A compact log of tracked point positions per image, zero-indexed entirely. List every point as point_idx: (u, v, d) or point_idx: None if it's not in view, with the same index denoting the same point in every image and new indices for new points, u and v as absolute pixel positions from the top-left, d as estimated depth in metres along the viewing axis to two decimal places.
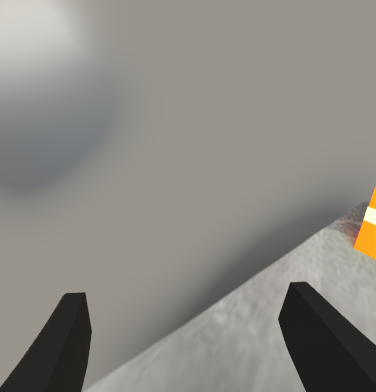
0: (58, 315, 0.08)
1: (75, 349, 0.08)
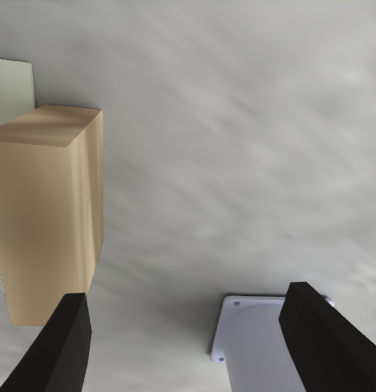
0: (58, 315, 0.08)
1: (75, 349, 0.08)
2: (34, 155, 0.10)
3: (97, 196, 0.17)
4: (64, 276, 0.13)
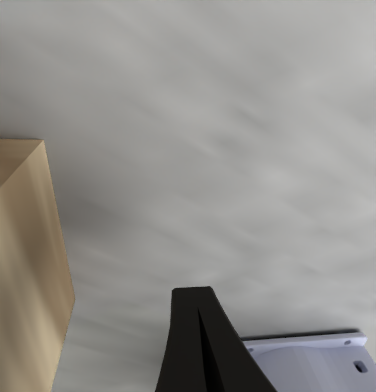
0: (180, 308, 0.09)
1: None
2: None
3: (51, 259, 0.12)
4: None
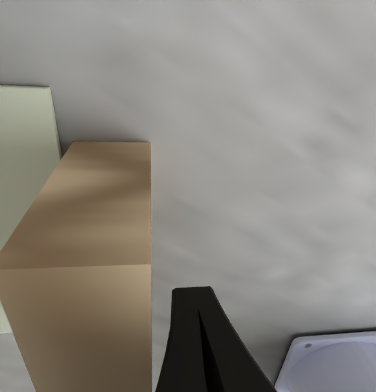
0: (181, 308, 0.09)
1: None
2: (96, 280, 0.06)
3: None
4: None
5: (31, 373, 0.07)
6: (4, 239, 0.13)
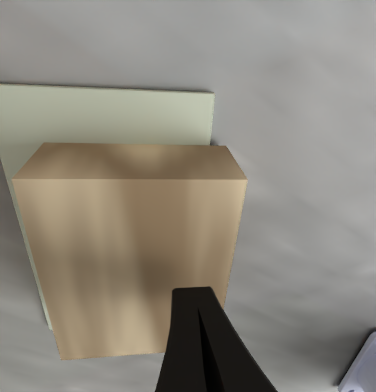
0: (180, 308, 0.09)
1: None
2: None
3: (184, 284, 0.11)
4: None
5: None
6: None
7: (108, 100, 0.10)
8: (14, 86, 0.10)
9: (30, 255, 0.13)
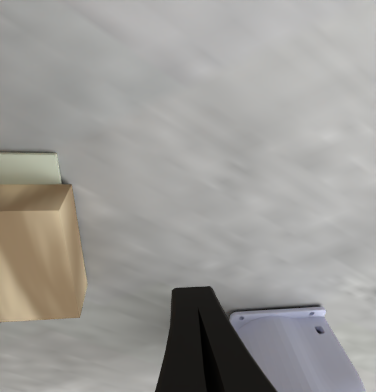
0: (180, 308, 0.09)
1: None
2: None
3: (41, 272, 0.18)
4: None
5: None
6: None
7: None
8: None
9: None
